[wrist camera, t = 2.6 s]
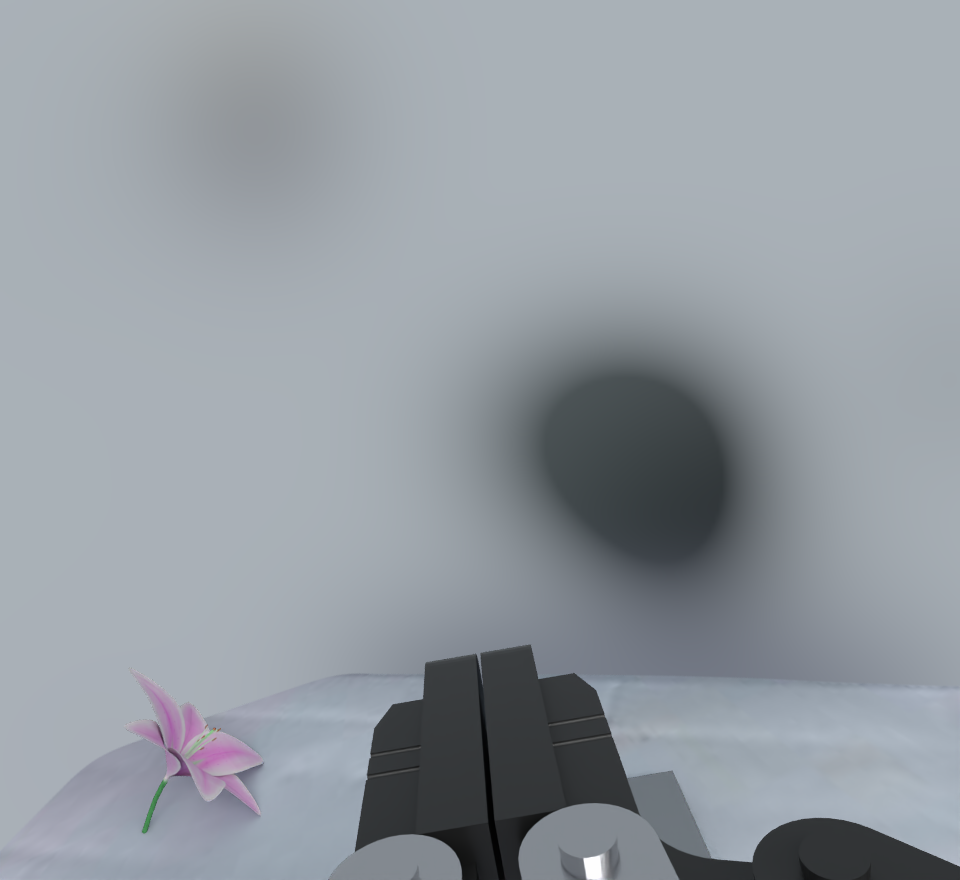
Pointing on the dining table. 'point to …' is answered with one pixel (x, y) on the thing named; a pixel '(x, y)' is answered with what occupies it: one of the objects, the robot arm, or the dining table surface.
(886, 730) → the dining table surface
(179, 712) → the lily
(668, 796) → the flat gray slab
